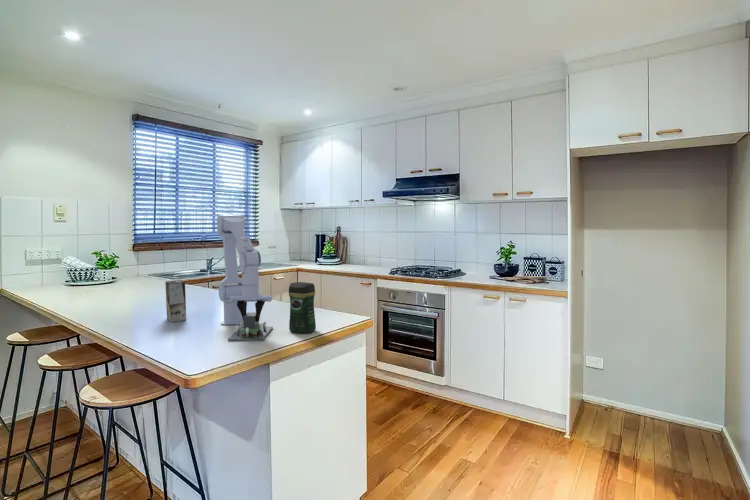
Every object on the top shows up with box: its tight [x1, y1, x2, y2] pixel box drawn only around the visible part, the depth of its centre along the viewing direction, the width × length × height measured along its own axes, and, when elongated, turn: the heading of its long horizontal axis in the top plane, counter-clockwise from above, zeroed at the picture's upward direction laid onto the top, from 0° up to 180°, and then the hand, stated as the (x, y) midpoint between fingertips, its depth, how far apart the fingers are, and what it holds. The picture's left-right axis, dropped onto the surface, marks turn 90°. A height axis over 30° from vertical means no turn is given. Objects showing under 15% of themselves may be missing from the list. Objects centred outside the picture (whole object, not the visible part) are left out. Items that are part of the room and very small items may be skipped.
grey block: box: [240, 312, 263, 333], centre depth 147 cm, size 9×6×6 cm, turn 2°
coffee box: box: [165, 279, 187, 323], centre depth 171 cm, size 9×6×16 cm
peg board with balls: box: [227, 321, 274, 342], centre depth 148 cm, size 16×12×4 cm
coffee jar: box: [288, 281, 317, 334], centre depth 152 cm, size 10×8×19 cm
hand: (251, 321), depth 148 cm, fingers closed on grey block, 4 cm apart
